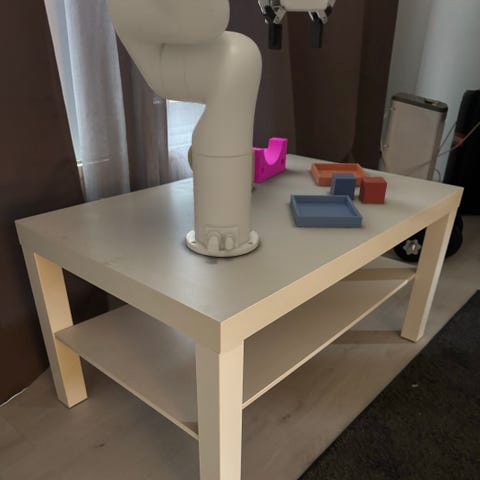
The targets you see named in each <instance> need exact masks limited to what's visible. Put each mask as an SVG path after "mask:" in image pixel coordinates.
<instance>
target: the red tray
mask: <svg viewBox="0 0 480 480" xmlns="http://www.w3.org/2000/svg"><path fill="white" fill-rule="evenodd" d="M310 172H311V174H312V176H313V179H314V180H315V182H316V184H317V186H321V187H323V186H324V187H327V186H328V187H329V186H330V187H331V180H332V173H352V174H353V175H354V176H355V178H356V179H357V180H356V186H355V187H360V184H361V178H362V177H370V175H369V174H368V173H367V172H366V171H365V170H364V168H363V167H362V166H361V165H360V164H359V163H345V162H344V163H343V162H342V163H340V162H339V163H338V162H337V163H336V162H334V163H333V162H311V165H310Z"/></svg>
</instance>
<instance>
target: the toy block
mask: <svg viewBox="0 0 480 480" xmlns="http://www.w3.org/2000/svg"><path fill="white" fill-rule="evenodd" d="M287 147H288V138H282V137H272V138H269V140H268V145H267V148H260V147H254V146H253V148H252V149H254V151H255V168H254V183H258V184H259V183H261V182H263V181H265V180H267V179H269V178H271V177H273V176H275V175H277V174H278V173H280V172H283V171H285V170H286V167H287V166H286V165H287V153H288V152H287V149H288V148H287Z"/></svg>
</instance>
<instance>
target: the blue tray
mask: <svg viewBox="0 0 480 480" xmlns="http://www.w3.org/2000/svg"><path fill="white" fill-rule="evenodd" d="M289 205H290V208H291V212H292V214H293V217H294V221H295V225H296V227H307V228H308V227H309V228H310V227H311V228H313V227H315V228H362V223H363V216H362V214H361V213H360V211H359V209H358V208H357V206H356V205H355V203H354V201H353V199H350V197H349V196H342V195H331V194H290V202H289Z"/></svg>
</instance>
